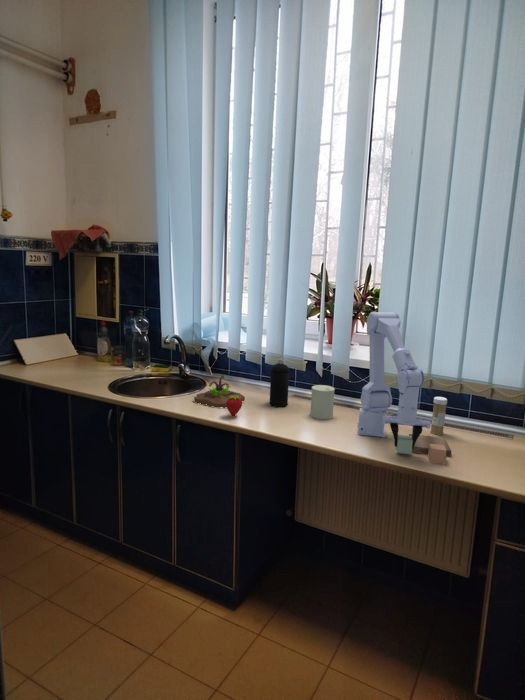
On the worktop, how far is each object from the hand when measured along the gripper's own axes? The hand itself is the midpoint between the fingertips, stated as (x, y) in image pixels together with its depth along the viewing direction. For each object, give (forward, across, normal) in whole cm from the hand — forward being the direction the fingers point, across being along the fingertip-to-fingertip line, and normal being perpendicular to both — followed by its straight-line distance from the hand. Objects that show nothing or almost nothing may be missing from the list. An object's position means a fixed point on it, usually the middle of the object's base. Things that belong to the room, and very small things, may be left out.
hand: (403, 446), depth 154 cm
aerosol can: (+3, -48, +41) cm, 63 cm away
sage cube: (+2, 0, 0) cm, 2 cm away
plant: (+4, -73, +39) cm, 83 cm away
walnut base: (+3, +9, +9) cm, 13 cm away
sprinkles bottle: (+3, +14, +25) cm, 29 cm away
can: (+3, -29, +32) cm, 43 cm away
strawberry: (+3, -62, +20) cm, 65 cm away
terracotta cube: (+3, +10, -2) cm, 11 cm away
